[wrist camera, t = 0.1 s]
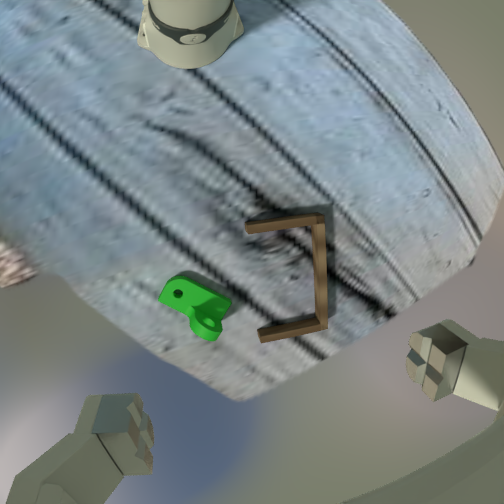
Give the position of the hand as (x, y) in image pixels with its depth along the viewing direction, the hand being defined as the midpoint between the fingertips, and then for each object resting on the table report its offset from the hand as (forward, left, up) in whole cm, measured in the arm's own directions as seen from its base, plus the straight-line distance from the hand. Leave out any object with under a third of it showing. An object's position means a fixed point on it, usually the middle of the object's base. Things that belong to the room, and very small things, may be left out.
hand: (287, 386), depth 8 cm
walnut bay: (+16, +12, -48) cm, 52 cm away
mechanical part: (+17, -5, -48) cm, 52 cm away
